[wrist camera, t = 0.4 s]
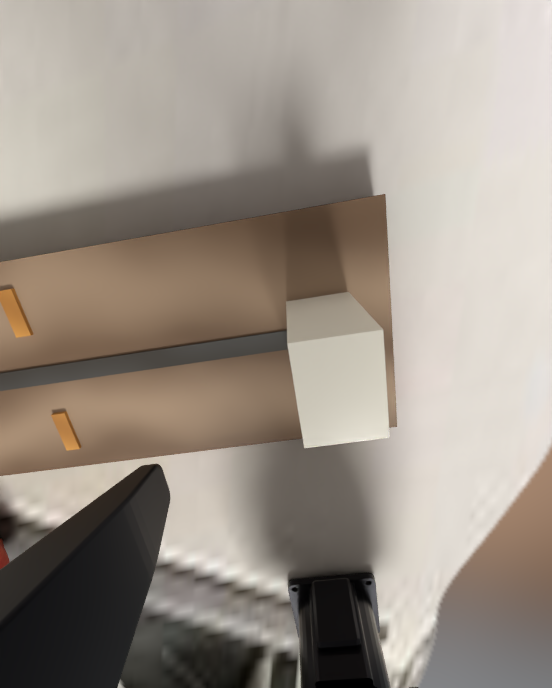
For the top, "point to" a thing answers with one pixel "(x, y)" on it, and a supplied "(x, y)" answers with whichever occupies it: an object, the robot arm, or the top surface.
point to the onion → (3, 555)
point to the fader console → (175, 335)
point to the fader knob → (337, 370)
